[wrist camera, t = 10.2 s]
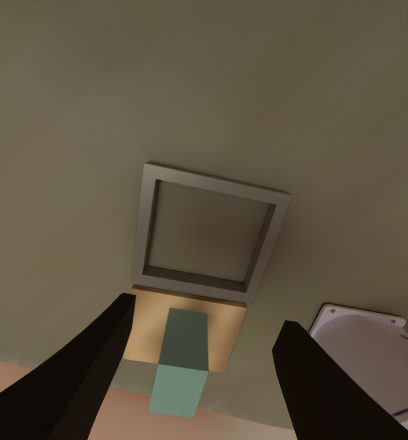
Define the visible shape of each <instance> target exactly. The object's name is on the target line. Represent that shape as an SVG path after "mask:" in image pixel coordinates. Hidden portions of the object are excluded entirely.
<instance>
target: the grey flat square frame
mask: <svg viewBox="0 0 408 440" xmlns="http://www.w3.org/2000/svg"><path fill="white" fill-rule="evenodd" d="M159 180H163V181H168V182H173V183H177V184H182V185H187V186H191V187H196V188H201V189H205V190H210V191H215V192H219V193H224V194H229V195H233V196H238V197H243V198H247V199H252V200H257V201H262V202H266V203H270V205H269V208H268V211H267V214H266V217H265V220H264V223H263V226H262V229H261V232H260V235H259V238H258V241H257V244H256V247H255V250H254V253H253V256H252V259H251V262H250V265H249V268H248V271H247V274H246V277H245V280H244V283H239V282H233V281H228V280H222V279H217V278H211V277H205V276H200V275H194V274H189V273H183V272H178V271H172V270H167V269H161V268H155V267H150V266H146V264H147V258H148V251H149V244H150V237H151V230H152V223H153V216H154V209H155V202H156V195H157V188H158V181H159ZM291 199H292V195H291V194H289V193H287V192H285V191H281V190H276V189H271V188H267V187H262V186H258V185H253V184H249V183H244V182H240V181H235V180H230V179H226V178H221V177H217V176H212V175H208V174H203V173H199V172H194V171H189V170H185V169H180V168H176V167H171V166H167V165H162V164H158V163H153V162H146V163H144V170H143V178H142V187H141V195H140V204H139V212H138V221H137V229H136V238H135V246H134V255H133V263H132V272H131V280H130V282H135V283H141V284H146V285H152V286H158V287H164V288H169V289H175V290H181V291H187V292H193V293H198V294H204V295H210V296H216V297H222V298H227V299H233V300H239V301H245V302H250V303H253V302H254V300H255V297H256V294H257V291H258V289H259V286H260V283H261V280H262V278H263V275H264V272H265V270H266V267H267V264H268V261H269V259H270V256H271V253H272V251H273V248H274V245H275V242H276V240H277V237H278V234H279V232H280V229H281V226H282V223H283V221H284V218H285V215H286V212H287V210H288V207H289V204H290V202H291Z"/></svg>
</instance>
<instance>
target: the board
mask: <svg viewBox="0 0 408 440" xmlns="http://www.w3.org/2000/svg"><path fill="white" fill-rule="evenodd" d="M131 294H133V295H136V303H135V310H134V318H133V325H132V330H131V333H130V337H129V340H128V343H127V346H126V349H125V352H124V356H123V359H129V360H136V361H143V362H150V363H157V364H158V361H159V356H160V351H161V346H162V341H163V336H164V332H165V327H166V322H167V317H168V313H169V308H170V307H171V308H176V309H182V310H188V311H194V312H200V313H206V314H207V327H208V361H209V371H213V372H220V373H224V371H225V368H226V366H227V363H228V360H229V357H230V354H231V352H232V349H233V346H234V343H235V341H236V338H237V335H238V332H239V329H240V327H241V324H242V321H243V318H244V315H245V313H246V310H247V306H246V304H243V303H237V302H231V301H225V300H219V299H214V298H208V297H202V296H196V295H190V294H185V293H179V292H173V291H167V290H161V289H155V288H150V287H144V286H138V285H133V287H132V291H131Z"/></svg>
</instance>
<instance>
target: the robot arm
mask: <svg viewBox="0 0 408 440" xmlns="http://www.w3.org/2000/svg"><path fill="white" fill-rule="evenodd" d="M135 303H136V295H133V294H127V293H122V294H120V295H119V297H118V298H117V299H116V300H115V301H114V302H113V303H112V304H111V305H110V306H109V307H108V308H107V309H106V310H105V311H104V312H103V313H102V314H101V315H100V316H99V317H97V318H96V319H95V320H94V321H93V322H92V323H91V324H90V325H89V326H88V327H87V328H85V329H84V330H83V331H82V332H81V333H80V334H78V335H77V336H76V337H75V338H74V339H72V340H71V341H70V342H69V343H68V344H66V345H65V346H64V347H63V348H62V349H60V350H59V351H58V352H56V353H55V354H54V355H53V356H51V357H50V358H49V359H47V360H46V361H45V362H43V363H42V364H41V365H39V366H38V367H37V368H35V369H34V370H32V371H31V372H30V373H28V374H27V375H25V376H24V377H22V378H21V379H20V380H18V381H17V382H15V383H14V384H12V385H11V386H9V387H8V388H6V389H5V390H4V391H2V392H0V440H87V439H88V436H89V434H90V431H91V428H92V426H93V423H94V421H95V418H96V416H97V413H98V411H99V409H100V406H101V404H102V402H103V400H104V397H105V395H106V393H107V391H108V388H109V386H110V384H111V381H112V379H113V377H114V375H115V372H116V370H117V368H118V366H119V363H120V361H121V359H122V356H123V354H124V352H125V349H126V346H127V343H128V340H129V337H130V333H131V330H132V325H133V318H134V310H135ZM405 323H406V321H405V319H403V318H402V317H398V316H393V315H387V314H381V313H376V312H370V311H364V310H359V309H353V308H348V307H342V306H336V305H331V304H325V305H324V306H323V307H322V309H321V311H320V313H319V315H318V317H317V319H316V321H315V323H314V325H313V326H312V328H311V330H310V332H309V333H308V332H307V331H306V330H305V329H304V328H303V327H302V326H301V325H300V324H299V323H298V322H294V321H288V320H285V322H284V324H283V327H282V329H281V331H280V333H279V336H278V338H277V340H276V342H275V345H274V347H273V349H272V354H273V359H274V364H275V369H276V373H277V377H278V380H279V384H280V387H281V390H282V393H283V396H284V399H285V402H286V405H287V408H288V412H289V415H290V418H291V421H292V424H293V427H294V430H295V433H296V436H297V440H408V332H406V331H405V330H404V329H403V328H402V327H403V326H404V325H405Z"/></svg>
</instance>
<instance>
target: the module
mask: <svg viewBox="0 0 408 440" xmlns="http://www.w3.org/2000/svg"><path fill="white" fill-rule="evenodd" d="M208 373H209V361H208V327H207V314H206V313H200V312H194V311H188V310H182V309H176V308H171V307H170V308H169V313H168V317H167V322H166V327H165V332H164V336H163V341H162V346H161V351H160V356H159V361H158V366H157V371H156V376H155V380H154V385H153V390H152V395H151V400H150V405H149V410H148V412H152V413H160V414H167V415H175V416H183V417H191V418H194V415H195V412H196V409H197V406H198V403H199V400H200V397H201V394H202V391H203V388H204V385H205V382H206V379H207V376H208Z"/></svg>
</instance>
